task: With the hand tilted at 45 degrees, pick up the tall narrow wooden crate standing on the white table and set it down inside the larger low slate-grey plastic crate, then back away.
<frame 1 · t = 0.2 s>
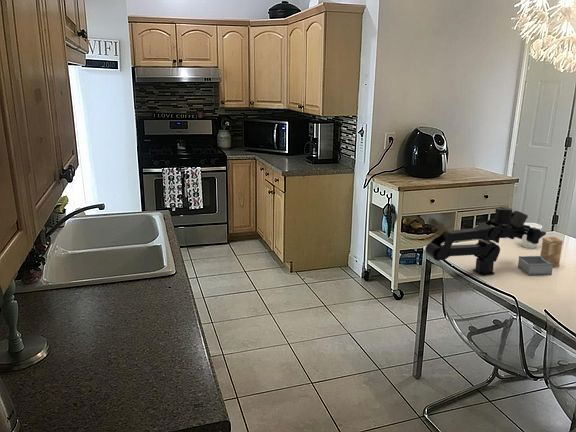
hand: (537, 230, 209), 17 cm above the table, tool horizontal, fingers open, 9 cm apart
large crate: (534, 271, 208), on the table
small crate: (549, 264, 214), on the table
cup: (528, 246, 238), on the table
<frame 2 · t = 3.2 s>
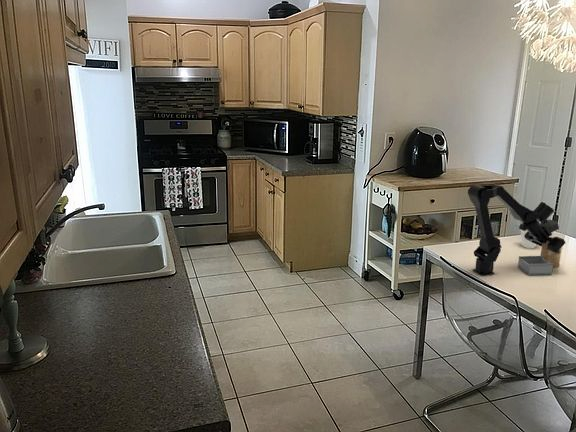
hand: (553, 250, 213), 7 cm above the table, tool tilted 45°, fingers closed on small crate, 6 cm apart
small crate: (549, 264, 214), on the table, touching gripper
everything else where it was.
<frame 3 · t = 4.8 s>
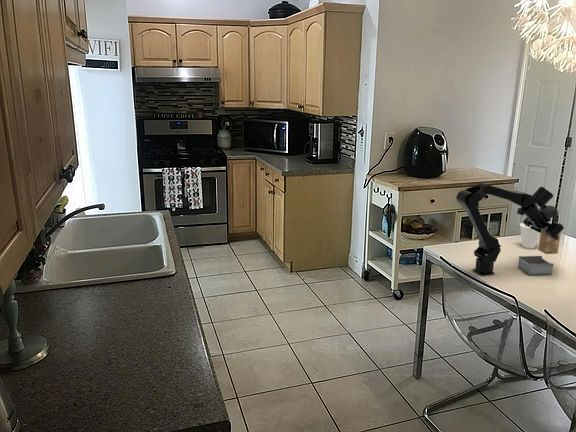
hand: (552, 237, 209), 14 cm above the table, tool tilted 45°, fingers closed on small crate, 6 cm apart
small crate: (547, 251, 211), point 7 cm above the table, touching gripper
everything else where it was.
when the fingers open (9 cm above the table, at t = 6.7 s): small crate drops 1 cm, resting on large crate.
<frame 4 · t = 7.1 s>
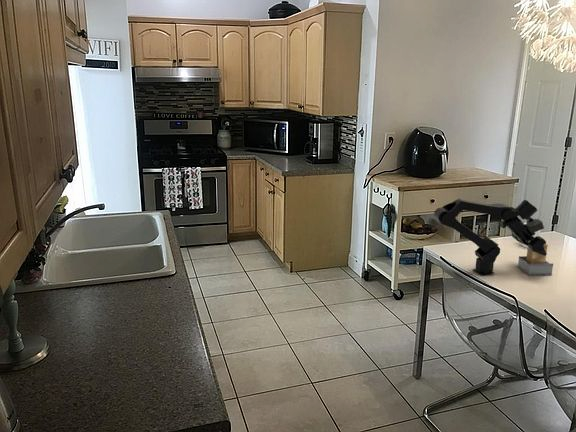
hand: (540, 251, 205), 9 cm above the table, tool tilted 45°, fingers open, 9 cm apart
small crate: (534, 268, 207), point 1 cm above the table, touching large crate
everything else where it was.
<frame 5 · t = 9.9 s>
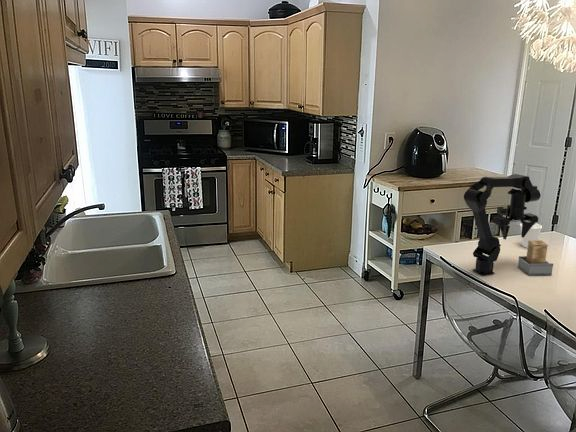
hand: (513, 238, 210), 13 cm above the table, tool pointing down, fingers open, 9 cm apart
nothing on the table moved.
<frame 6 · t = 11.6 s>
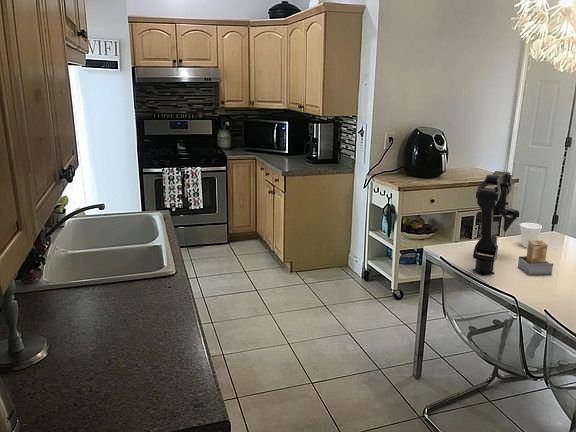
hand: (495, 232, 218), 13 cm above the table, tool pointing down, fingers open, 9 cm apart
nothing on the table moved.
at the end: small crate 0.0 cm off-centre on the large crate, point 1.0 cm above the large crate's base; small crate tilted 0°; the gripper is holding nothing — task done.
